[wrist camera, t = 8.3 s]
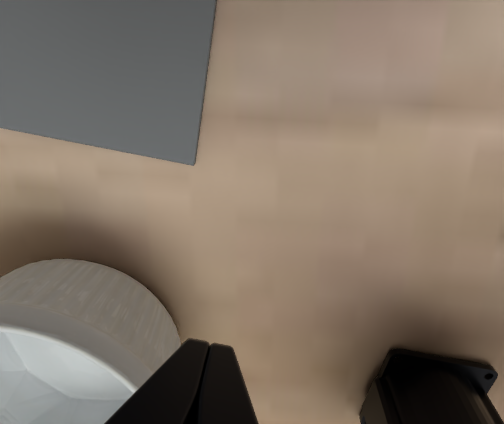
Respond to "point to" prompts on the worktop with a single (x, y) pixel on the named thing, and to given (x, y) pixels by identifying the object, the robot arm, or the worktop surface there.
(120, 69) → the mat
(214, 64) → the worktop surface
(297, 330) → the worktop surface
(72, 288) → the ramekin
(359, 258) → the worktop surface
